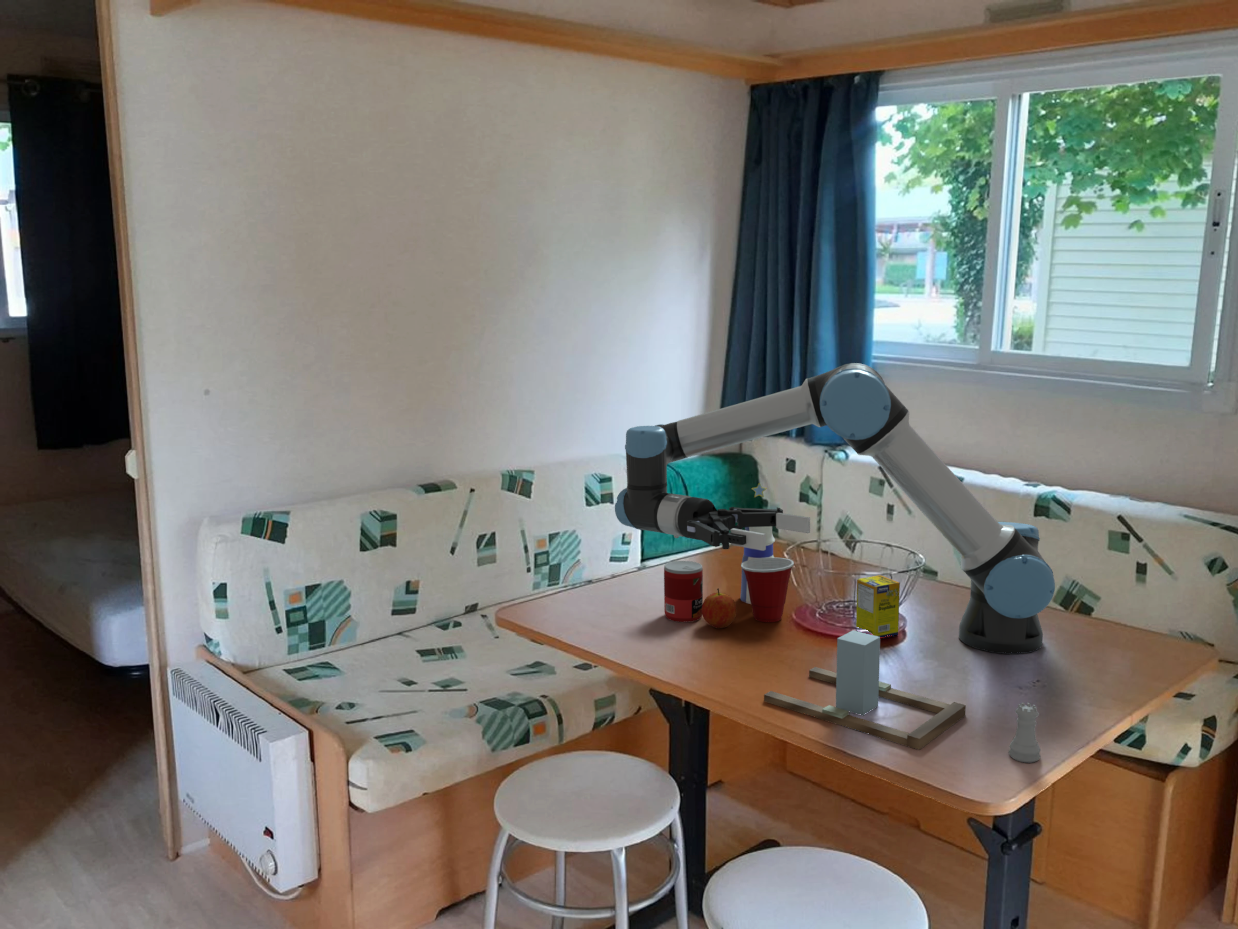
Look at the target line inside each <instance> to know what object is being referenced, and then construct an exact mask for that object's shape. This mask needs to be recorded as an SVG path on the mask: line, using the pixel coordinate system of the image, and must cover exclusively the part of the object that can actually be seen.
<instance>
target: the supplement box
mask: <svg viewBox="0 0 1238 929" xmlns="http://www.w3.org/2000/svg"><path fill="white" fill-rule="evenodd" d="M900 586H901V583H900V582H899V581H897V580H894V579H892V578H888V577H887V576H884V575H881V574H878V575H873V576H867V577H862V578H858V579H856V610H855V611H856V616H855V617H856V619H855V622H856V623H855V628H856V627H859V628H862V629H866V630H868V631H869V632H871V633H872V634H873V635H874V636H878V637H885V636H886V637H887V635H888V636H889V635H890V636H891V635H892V636H893V637H895V636H894V635H897V636H899V626H900V625H899V624H900V623H899V622H900V621H899V620H900V618H899V616H900V593H901V592H900V590H901V589H900Z"/></svg>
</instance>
